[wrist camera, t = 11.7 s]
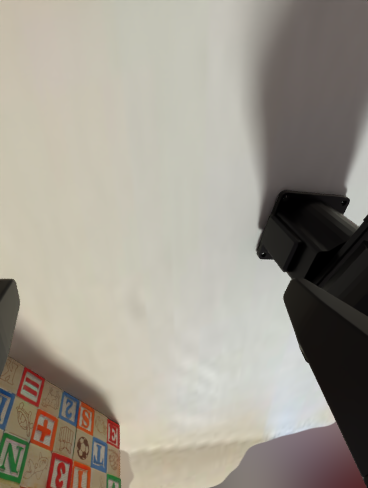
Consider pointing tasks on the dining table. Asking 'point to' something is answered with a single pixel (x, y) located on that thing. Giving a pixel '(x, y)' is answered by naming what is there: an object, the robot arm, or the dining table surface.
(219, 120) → the dining table surface
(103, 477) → the stack of blocks
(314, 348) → the robot arm
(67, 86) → the dining table surface
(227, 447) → the dining table surface
